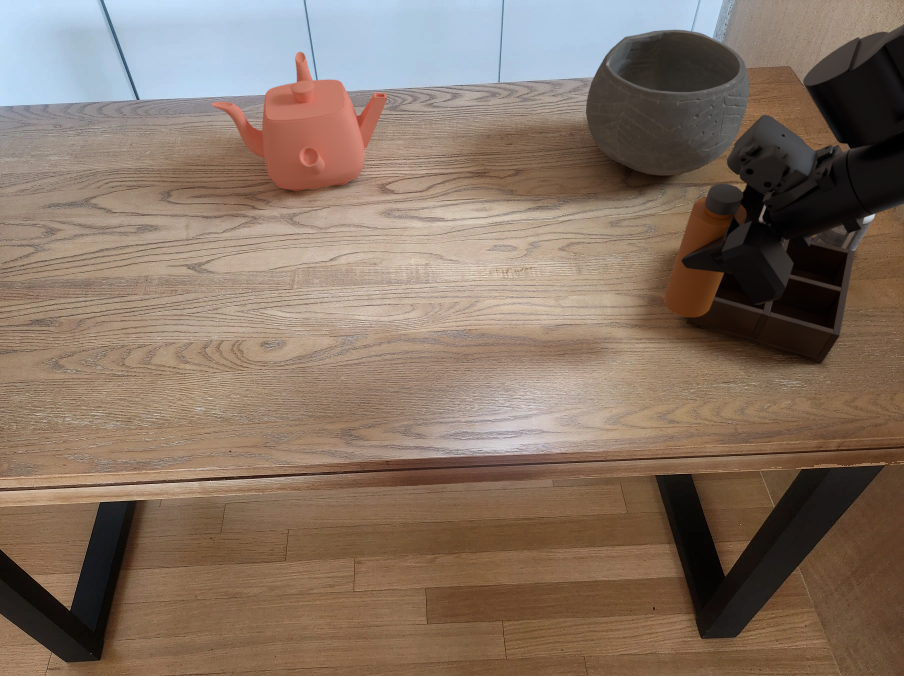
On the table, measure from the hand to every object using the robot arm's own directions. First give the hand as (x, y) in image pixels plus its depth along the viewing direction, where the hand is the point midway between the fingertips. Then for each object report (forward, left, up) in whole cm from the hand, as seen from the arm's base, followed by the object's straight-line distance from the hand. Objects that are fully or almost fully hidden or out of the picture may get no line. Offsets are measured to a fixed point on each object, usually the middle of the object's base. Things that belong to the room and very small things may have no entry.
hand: (691, 247), depth 67 cm
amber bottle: (-1, 0, -7) cm, 7 cm away
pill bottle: (-15, -24, -14) cm, 31 cm away
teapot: (+57, -13, -14) cm, 60 cm away
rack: (-9, -11, -13) cm, 20 cm away
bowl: (+11, -35, -14) cm, 39 cm away
